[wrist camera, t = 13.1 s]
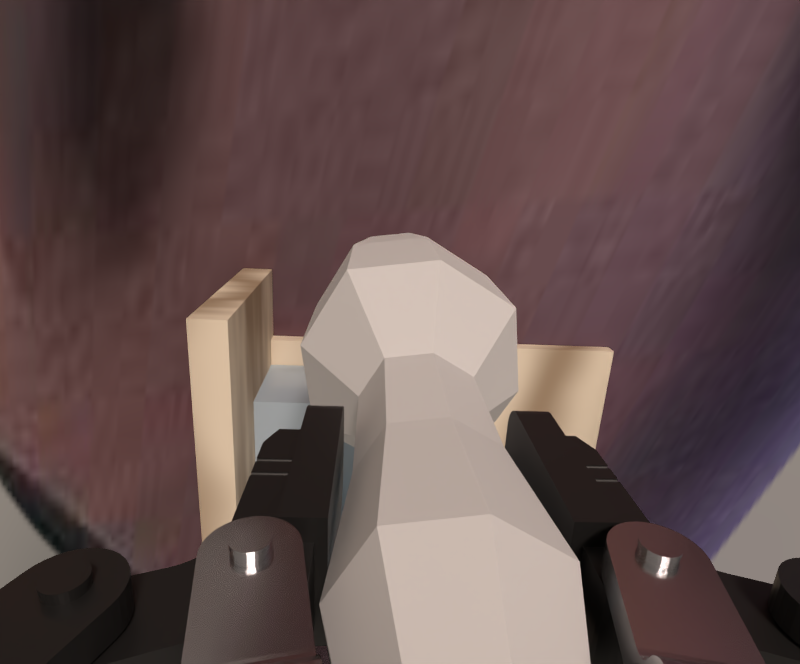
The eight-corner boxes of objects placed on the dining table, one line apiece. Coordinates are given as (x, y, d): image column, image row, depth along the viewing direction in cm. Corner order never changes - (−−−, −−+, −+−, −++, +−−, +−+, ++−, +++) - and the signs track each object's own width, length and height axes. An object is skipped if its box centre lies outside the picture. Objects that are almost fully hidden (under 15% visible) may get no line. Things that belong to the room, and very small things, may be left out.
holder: (456, 370, 32) (471, 407, 27) (442, 523, 36) (453, 580, 31) (271, 364, 31) (253, 401, 27) (274, 521, 35) (259, 579, 30)
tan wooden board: (619, 284, 32) (725, 338, 22) (564, 581, 39) (627, 718, 29) (243, 268, 30) (185, 318, 21) (255, 579, 37) (215, 723, 28)
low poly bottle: (444, 354, 27) (665, 1021, 6) (320, 327, 26) (101, 976, 6) (479, 230, 25) (966, 594, 4) (346, 198, 25) (167, 445, 4)
